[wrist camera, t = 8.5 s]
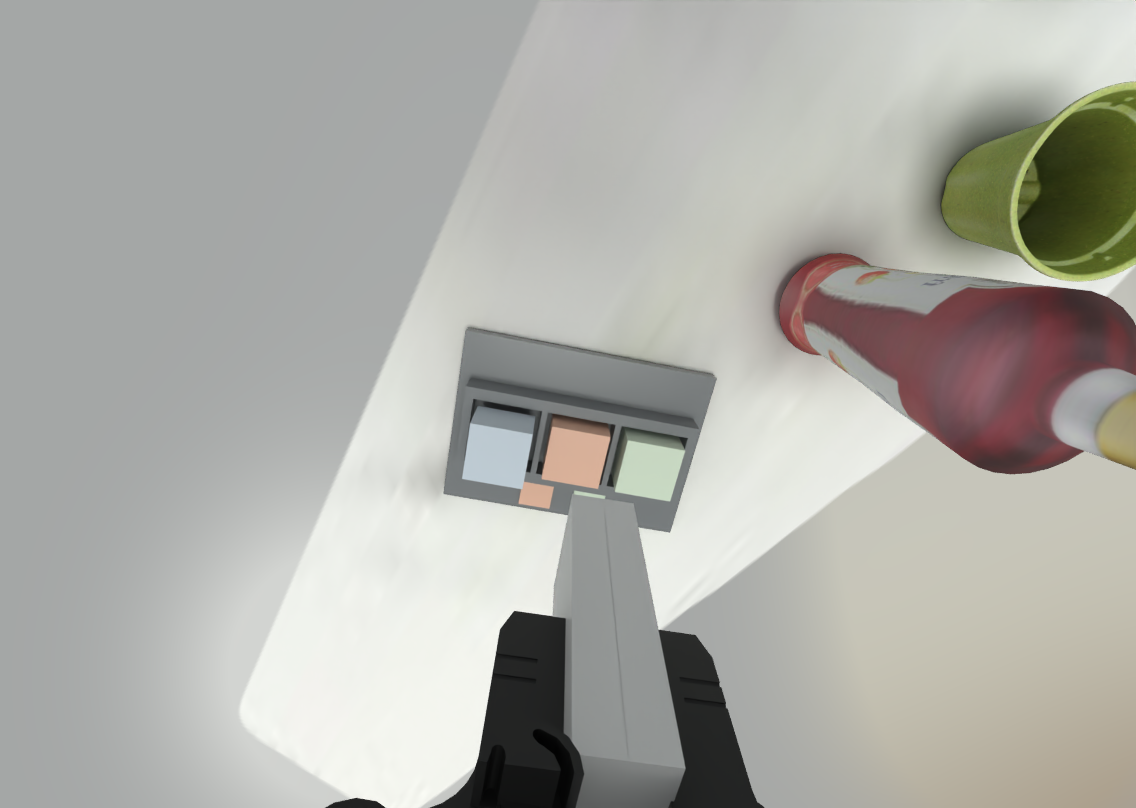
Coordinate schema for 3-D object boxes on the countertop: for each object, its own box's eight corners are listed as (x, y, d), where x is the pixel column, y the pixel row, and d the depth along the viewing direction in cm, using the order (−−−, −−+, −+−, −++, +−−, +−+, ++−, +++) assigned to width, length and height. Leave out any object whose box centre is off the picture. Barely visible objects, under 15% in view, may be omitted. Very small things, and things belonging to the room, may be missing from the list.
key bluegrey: (477, 405, 38) (470, 423, 35) (535, 416, 38) (532, 434, 35) (470, 457, 39) (462, 478, 36) (525, 467, 39) (522, 489, 36)
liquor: (754, 341, 39) (1133, 618, 13) (790, 237, 37) (1344, 320, 11) (851, 363, 40) (1399, 670, 14) (892, 261, 38) (1657, 397, 11)
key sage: (623, 422, 40) (627, 440, 37) (676, 432, 40) (685, 450, 37) (611, 471, 42) (614, 491, 39) (662, 480, 42) (670, 501, 39)
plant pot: (883, 195, 36) (976, 192, 28) (1010, 75, 34) (1151, 34, 26) (964, 293, 38) (1071, 317, 30) (1088, 186, 36) (1241, 182, 28)
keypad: (468, 327, 39) (460, 337, 36) (713, 374, 40) (724, 387, 37) (446, 487, 43) (437, 507, 41) (667, 525, 45) (674, 547, 42)
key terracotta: (553, 409, 40) (552, 426, 37) (607, 419, 40) (610, 437, 37) (543, 459, 41) (541, 479, 38) (595, 468, 41) (597, 488, 38)
